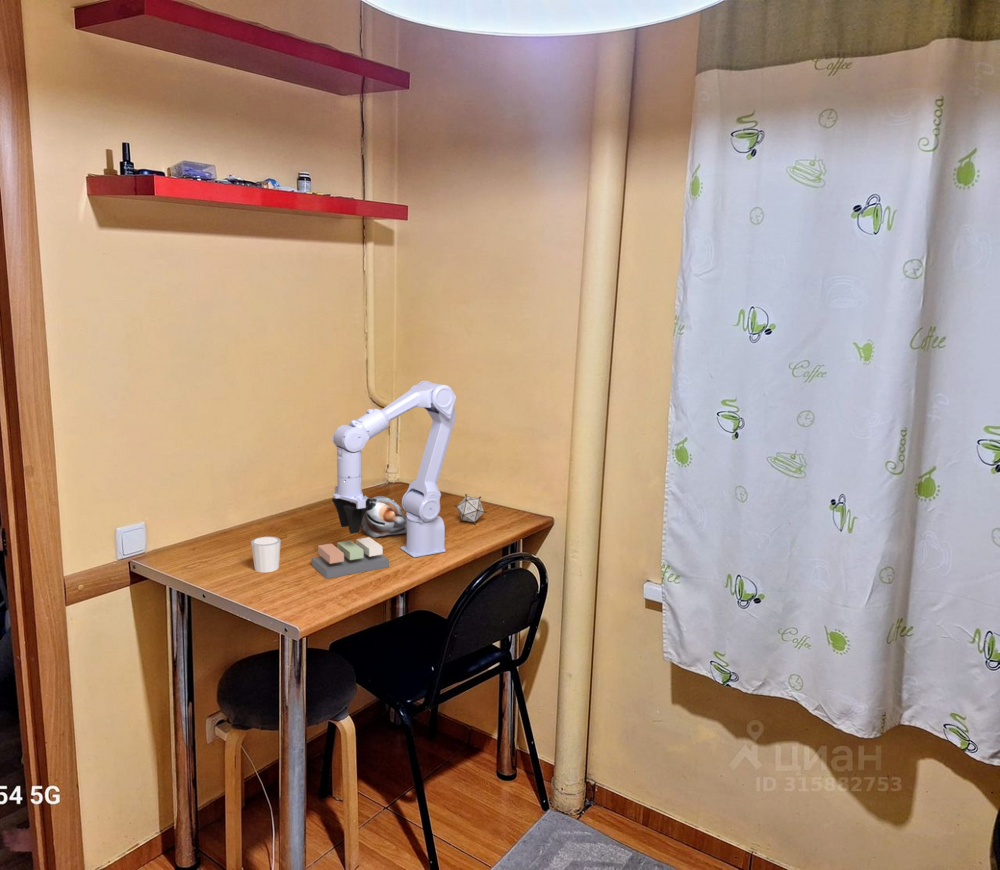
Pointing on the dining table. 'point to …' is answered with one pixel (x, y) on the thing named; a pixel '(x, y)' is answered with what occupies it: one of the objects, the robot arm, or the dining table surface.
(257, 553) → the shot glass
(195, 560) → the dining table surface
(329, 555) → the terracotta button
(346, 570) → the button panel
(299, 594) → the dining table surface
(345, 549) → the sage button
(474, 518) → the game die
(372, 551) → the off-white button
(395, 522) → the lucky cat figurine
